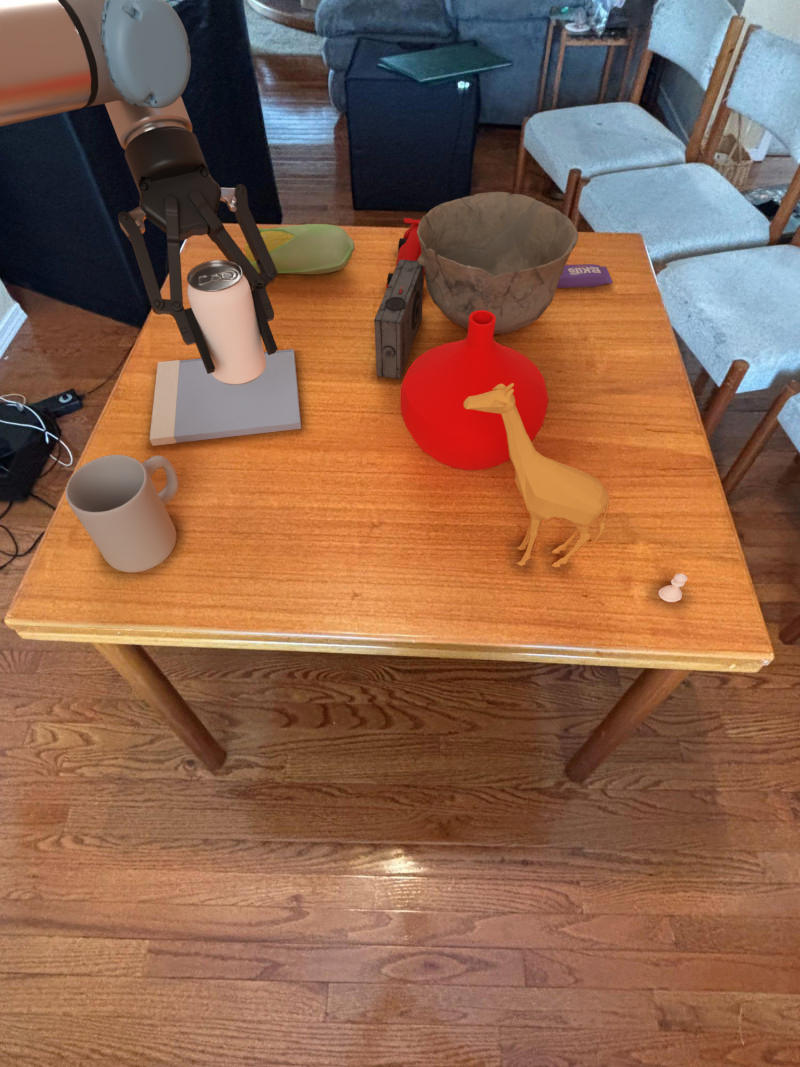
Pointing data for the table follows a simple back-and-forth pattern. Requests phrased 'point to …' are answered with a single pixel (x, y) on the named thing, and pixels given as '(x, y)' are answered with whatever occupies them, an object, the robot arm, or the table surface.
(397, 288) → the camera
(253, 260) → the corn
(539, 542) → the table surface
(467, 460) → the vase
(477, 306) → the bowl
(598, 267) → the snack package
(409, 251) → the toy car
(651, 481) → the table surface
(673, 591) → the chess pawn
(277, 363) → the blue flat rectangular slab
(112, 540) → the mug
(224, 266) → the can
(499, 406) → the giraffe
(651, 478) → the table surface
